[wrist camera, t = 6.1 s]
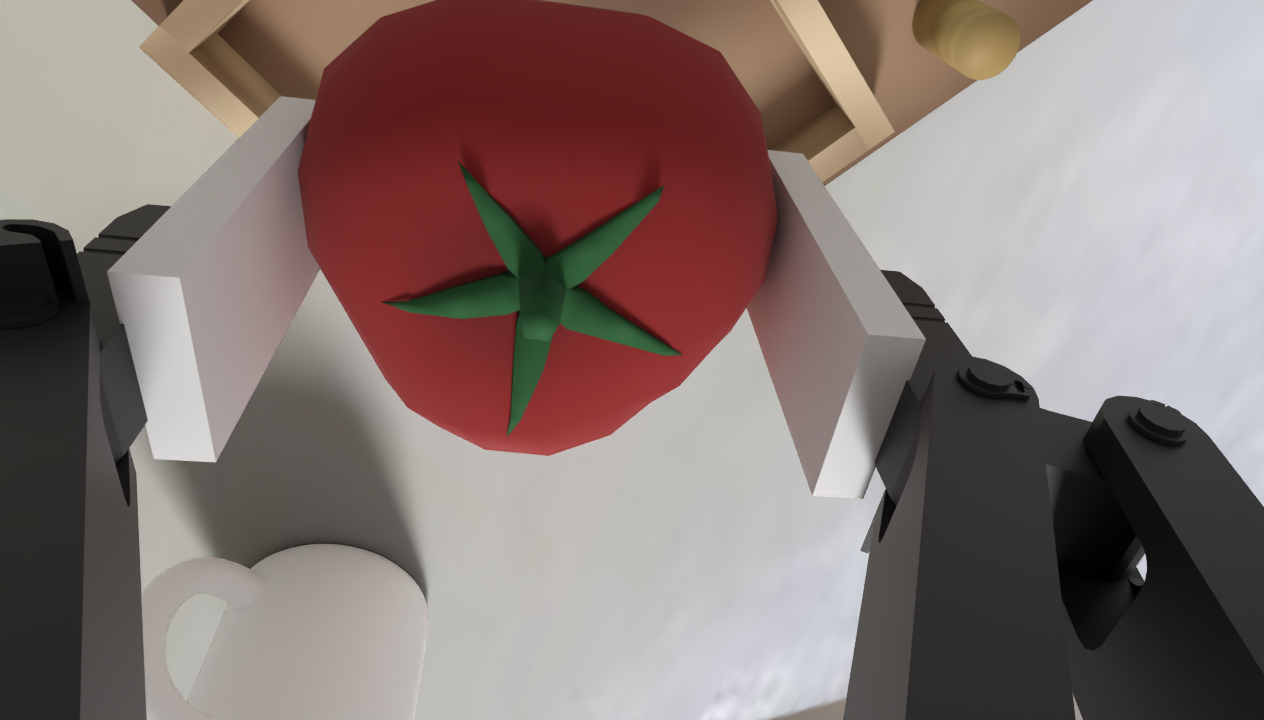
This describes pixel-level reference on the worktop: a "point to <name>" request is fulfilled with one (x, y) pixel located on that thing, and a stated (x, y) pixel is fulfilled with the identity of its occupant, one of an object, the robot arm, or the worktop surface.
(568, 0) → the housing base
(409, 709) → the mug
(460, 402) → the tomato
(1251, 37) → the worktop surface
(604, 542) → the worktop surface
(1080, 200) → the worktop surface
